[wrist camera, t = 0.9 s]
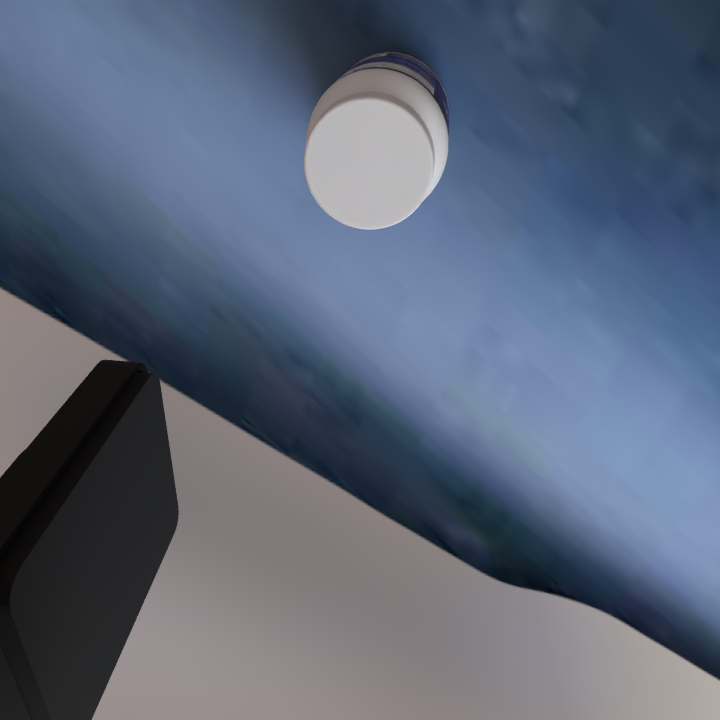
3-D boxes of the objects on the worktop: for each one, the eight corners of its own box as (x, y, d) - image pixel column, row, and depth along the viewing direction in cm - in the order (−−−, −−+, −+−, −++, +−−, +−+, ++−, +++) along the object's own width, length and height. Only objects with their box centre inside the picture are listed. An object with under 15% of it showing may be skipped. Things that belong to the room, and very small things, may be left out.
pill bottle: (425, 188, 32) (415, 264, 24) (320, 152, 32) (272, 216, 24) (468, 72, 29) (473, 113, 21) (351, 31, 29) (309, 56, 21)
